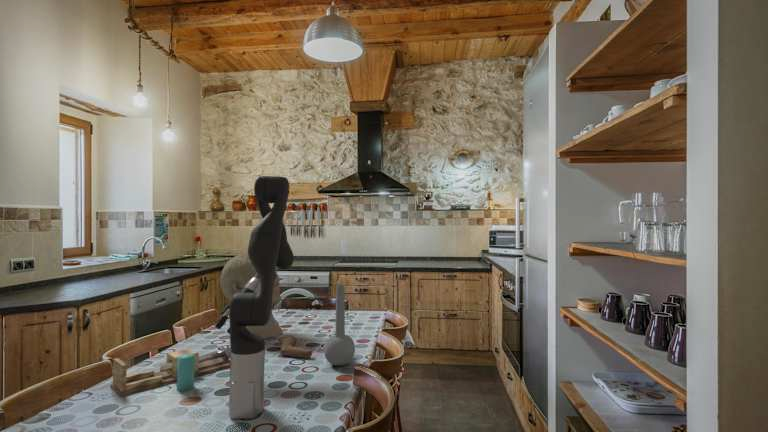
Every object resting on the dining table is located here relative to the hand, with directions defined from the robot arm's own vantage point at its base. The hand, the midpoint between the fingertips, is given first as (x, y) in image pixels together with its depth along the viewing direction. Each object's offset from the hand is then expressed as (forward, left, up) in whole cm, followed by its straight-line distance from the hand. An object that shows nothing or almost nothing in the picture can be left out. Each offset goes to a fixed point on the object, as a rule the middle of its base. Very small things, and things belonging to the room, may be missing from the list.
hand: (222, 330), depth 136 cm
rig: (+2, +16, -16) cm, 22 cm away
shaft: (+7, +11, -15) cm, 20 cm away
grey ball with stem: (+15, -39, -16) cm, 45 cm away
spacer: (-9, +8, -16) cm, 20 cm away
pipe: (+24, -22, -16) cm, 36 cm away
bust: (+55, +5, -16) cm, 58 cm away
